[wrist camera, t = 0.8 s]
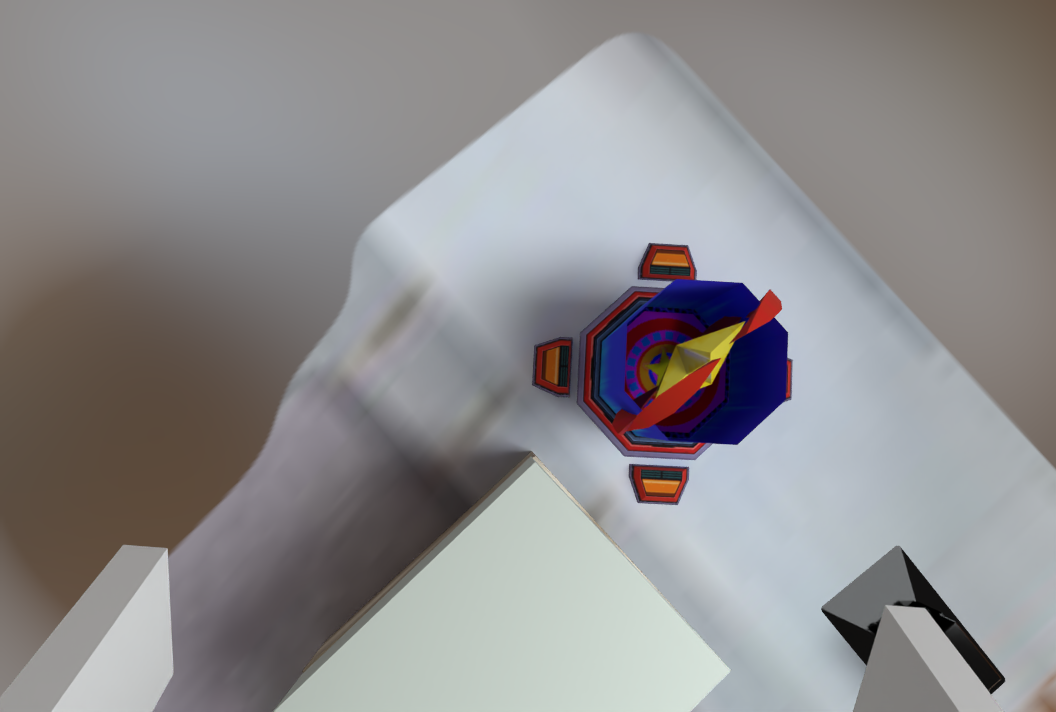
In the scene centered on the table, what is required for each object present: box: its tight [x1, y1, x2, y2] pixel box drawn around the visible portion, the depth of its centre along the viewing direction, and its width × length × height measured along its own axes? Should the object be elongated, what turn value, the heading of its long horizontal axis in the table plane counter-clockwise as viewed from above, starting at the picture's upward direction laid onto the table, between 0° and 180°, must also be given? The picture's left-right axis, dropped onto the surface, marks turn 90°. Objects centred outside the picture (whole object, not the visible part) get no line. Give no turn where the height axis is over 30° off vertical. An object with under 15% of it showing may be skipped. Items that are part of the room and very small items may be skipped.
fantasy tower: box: [532, 243, 793, 505], centre depth 39 cm, size 12×12×12 cm
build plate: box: [821, 546, 1005, 694], centre depth 42 cm, size 12×7×5 cm, turn 39°
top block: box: [273, 457, 731, 712], centre depth 36 cm, size 12×15×5 cm
